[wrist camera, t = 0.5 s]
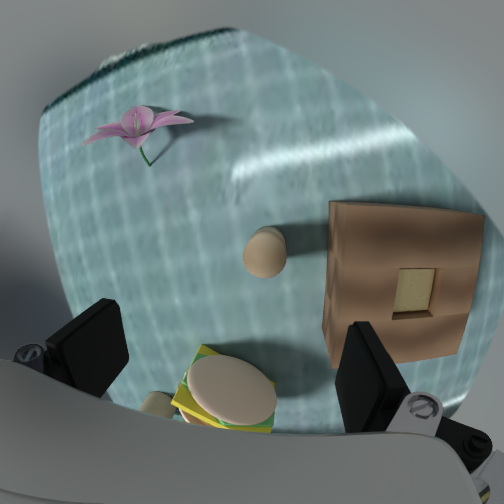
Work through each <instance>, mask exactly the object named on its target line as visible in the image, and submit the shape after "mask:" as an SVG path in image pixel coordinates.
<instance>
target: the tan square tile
mask: <svg viewBox="0 0 504 504" xmlns="http://www.w3.org/2000/svg"><path fill="white" fill-rule="evenodd" d="M434 272H435V269H434V268H400V270H399V277H398V285H397V291H396V297H395V303H394V309H393V312H402V311H416V310H428V305H429V300H430V295H431V290H432V284H433V278H434Z"/></svg>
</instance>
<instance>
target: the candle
mask: <svg viewBox="0 0 504 504" xmlns="http://www.w3.org/2000/svg"><path fill="white" fill-rule="evenodd" d="M171 401H172V398H171V397H169V396H168V395H166V394H164V393H162V392H157V391H154V392H151V393H150V394H149V395H148V396H147V398H146V399H145V401H144V402H143V404H142V405H141V407H140V408H139V411H142V412H146V413H149V414H153V415H157V416H161V417H165V418H170V419H172V417H173V415H174V413H175V411H176V406H174V405H172V404H171Z"/></svg>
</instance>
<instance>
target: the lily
mask: <svg viewBox="0 0 504 504" xmlns="http://www.w3.org/2000/svg"><path fill="white" fill-rule="evenodd" d="M178 112H180V111H178V110H176V111H167V112H161V113H157V114H154V115H153V112H152V110H151V109H149V108H148V107H145V106H135V107H132V108H131V109H129V110H128V111H126V112H125V113H124V114H123V115H122V118H121V121H119V122H112V123H108V124H104V125H101V126H99V127H96V128H95V129H99V130H101V131H98V132H96V133H95V134H93V135H92V136H90V137H89V138H88V139H86V140H85V141H84V142H83V143H82V144H81V146H84V145H87V144H90V143H92V142H95V141H98V140H101V139H105V138H108V137H114V136H120V137H122V139H123V140H124V141H125V142H127V143H128V144H129V145H130V146H132V147H133V148H136V149H137V148H138V147H139V149H140V152H141V154H142V156H143V158H144V160H145V161H146V163H147V164H148V166H151V164H150V163H149V162H148V160H147V158H146V157H145V155H144V153H143V151H142V147H141V144H142V143H143V142H144V141H145V140H146V138H147V137H148V136H149V135H150V134H151V133H152V132H153V131H154V130H155V129H156V128H157V127H161V126H165V125H173V124H185V123H193V122H194V121H193V120H191V119H188V118H185V117H181V116H173V115H175V114H176V113H178Z"/></svg>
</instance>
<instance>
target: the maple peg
mask: <svg viewBox="0 0 504 504" xmlns="http://www.w3.org/2000/svg"><path fill="white" fill-rule="evenodd" d="M286 258H287V257H286V241H285V237H284V235H283V233H282V232H281V231H280V230H279V229H277V228H275V227H272V226H265V227H262V228H260V229H258V230H257V231H256V232H255V233H254V235H253V236H252V238H251V239H250V241H249V242H248V244H247V245H246V247H245V249H244V252H243V261H244V264H245V267H246V268H247V270H248V271H249V272H250V273H251V274H253V275H254V276H256V277H259V278H271V277H274V276H276V275H277V274H279V273H280V272H281V271H282V270H283V268H284V266H285V264H286Z"/></svg>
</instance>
